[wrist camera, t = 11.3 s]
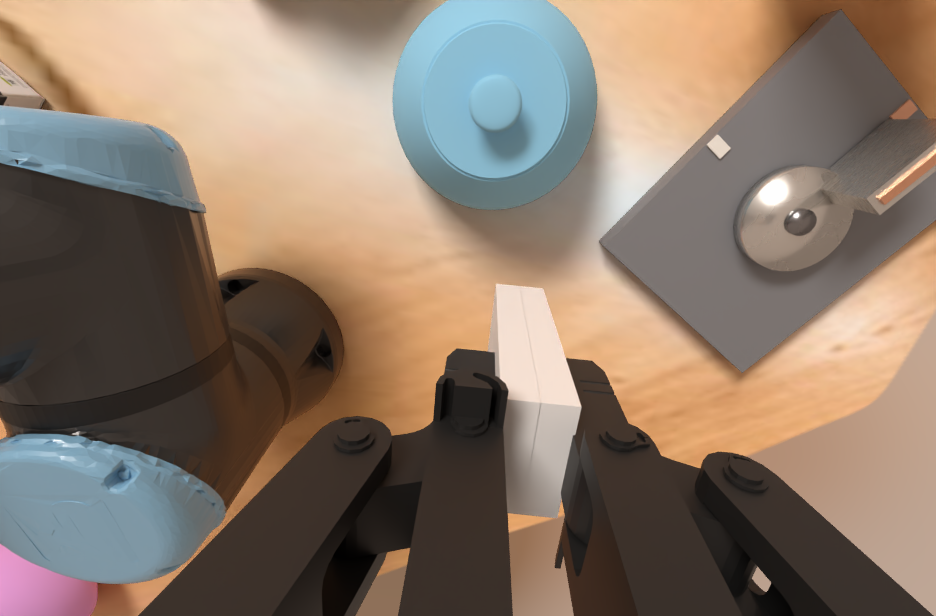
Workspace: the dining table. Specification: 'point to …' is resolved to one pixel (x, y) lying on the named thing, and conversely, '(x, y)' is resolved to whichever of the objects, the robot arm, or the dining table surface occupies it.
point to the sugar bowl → (494, 100)
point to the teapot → (41, 590)
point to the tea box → (17, 91)
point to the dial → (832, 195)
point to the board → (744, 163)
